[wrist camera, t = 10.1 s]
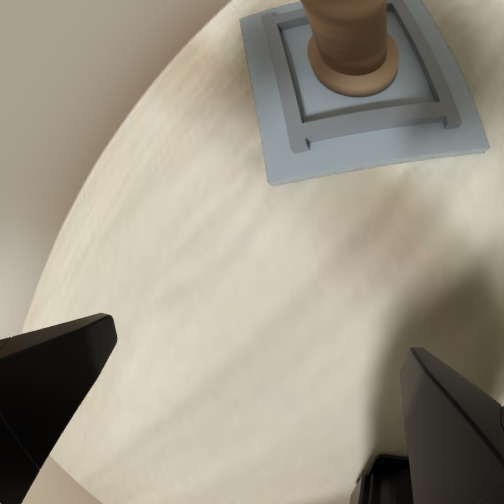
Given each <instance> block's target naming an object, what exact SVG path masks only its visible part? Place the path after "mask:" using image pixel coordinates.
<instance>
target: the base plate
mask: <svg viewBox="0 0 504 504" xmlns="http://www.w3.org/2000/svg"><path fill="white" fill-rule="evenodd" d="M386 16H387V33H389V34H390V36H391V37H392V38H393V39H394V41H395V43H396V45H397V48H398V52H399V61H398V72H397V76H396V78H395V80H394V82H393V83H392V84H391V85H390V86H389V87H388V88H387V89H386V90H384V91H383V92H381V93H379V94H376V95H373V96H369V97H360V98H356V97H348V96H343V95H340V94H337V93H335V92H333V91H331V90H329V89H328V88H326V87H325V86H324V85H323V84H321V83H320V81H319V80H318V79H317V77H316V76H315V74H314V72H313V69H312V67H311V64H310V61H309V58H308V54H307V46H308V42H309V40H310V38H311V36H312V35H313V32H312V29H311V27H310V24H309V21H308V18H307V16H306V13H305V10H304V8H303V5H302V3H301V1H300V2H296V3H292V4H288V5H284V6H280V7H277V8H273V9H270V10H266V11H263V12H260V13H257V14H253V15H250V16H247V17H244V18H241V19H240V25H241V30H242V35H243V40H244V45H245V51H246V56H247V62H248V67H249V73H250V78H251V84H252V89H253V95H254V101H255V107H256V112H257V118H258V124H259V130H260V136H261V142H262V148H263V154H264V161H265V167H266V173H267V180H268V183H269V184H271V185H272V186H277V185H282V184H287V183H292V182H297V181H301V180H307V179H312V178H317V177H322V176H327V175H333V174H338V173H344V172H350V171H355V170H361V169H367V168H373V167H379V166H386V165H392V164H399V163H406V162H413V161H420V160H427V159H435V158H443V157H452V156H460V155H470V154H479V153H485V152H486V151H487V150H488V149H489V148H490V146H489V143H488V140H487V137H486V134H485V131H484V128H483V125H482V122H481V119H480V116H479V114H478V111H477V108H476V106H475V103H474V101H473V98H472V96H471V93H470V91H469V89H468V86H467V84H466V82H465V79H464V77H463V75H462V73H461V71H460V69H459V67H458V64H457V62H456V60H455V58H454V56H453V54H452V53H451V51H450V49H449V47H448V45H447V43H446V41H445V39H444V38H443V36H442V34H441V32H440V31H439V29H438V27H437V26H436V24H435V22H434V21H433V19H432V17H431V16H430V14H429V13H428V11H427V9H426V8H425V6H424V5H423V3H422V2H421V0H386Z"/></svg>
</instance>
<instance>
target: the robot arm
mask: <svg viewBox="0 0 504 504" xmlns="http://www.w3.org/2000/svg"><path fill="white" fill-rule="evenodd" d="M116 343H117V333H116V329H115V324H114V320H113V317H112V316H111V315H109V314H104V313H98V314H95V315H91V316H88V317H84V318H80V319H77V320H73V321H69V322H66V323H62V324H58V325H54V326H51V327H47V328H43V329H39V330H36V331H32V332H28V333H24V334H21V335H17V336H13V337H12V338H11V337H9V338H5V339H1V340H0V503H1V504H21V503H22V501H23V500H24V498H25V496H26V494H27V492H28V490H29V489H30V487H31V485H32V483H33V482H34V480H35V478H36V476H37V475H38V473H39V471H40V469H41V467H42V466H43V464H44V462H45V461H46V459H47V457H48V456H49V454H50V452H51V451H52V449H53V447H54V446H55V444H56V442H57V441H58V439H59V437H60V436H61V434H62V433H63V431H64V429H65V428H66V426H67V425H68V423H69V421H70V420H71V418H72V417H73V415H74V414H75V412H76V411H77V409H78V407H79V406H80V404H81V403H82V401H83V400H84V398H85V397H86V395H87V394H88V392H89V391H90V389H91V388H92V386H93V385H94V383H95V382H96V380H97V378H98V377H99V375H100V373H101V371H102V369H103V367H104V366H105V364H106V362H107V360H108V358H109V356H110V354H111V353H112V351H113V349H114V347H115V345H116ZM400 382H401V394H402V408H403V423H404V430H405V436H406V442H407V449H408V456H409V457H400V456H392V455H385V454H381V455H378V456H377V457H376V458H375V460H374V462H373V464H372V466H371V467H370V469H369V471H368V473H367V474H364V475H363V476H361V478H360V480H359V482H358V484H357V486H356V487H355V489H354V491H353V493H352V495H351V500H350V504H504V406H502V407H501V404H500V403H498V402H497V401H496V400H494V399H493V398H491V397H490V396H489V395H487V394H486V393H485V392H483V391H482V390H481V389H479V388H478V387H477V386H475V385H474V384H472V383H471V382H470V381H468V380H467V379H466V378H464V377H463V376H461V375H460V374H459V373H457V372H456V371H455V370H453V369H452V368H450V367H449V366H448V365H446V364H445V363H443V362H442V361H441V360H439V359H438V358H436V357H435V356H434V355H432V354H431V353H429V352H428V351H427V350H425V349H424V348H421V347H412V348H409V349H408V351H407V354H406V357H405V360H404V363H403V366H402V369H401V374H400ZM379 460H384V461H379Z"/></svg>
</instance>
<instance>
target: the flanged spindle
mask: <svg viewBox="0 0 504 504" xmlns="http://www.w3.org/2000/svg"><path fill="white" fill-rule="evenodd" d="M301 3H302V5H303V8H304V10H305V13H306V16H307V18H308V21H309V24H310V27H311V29H312V32H313V35H312V36H311V38H310V40H309V42H308V46H307V54H308V58H309V61H310V64H311V67H312V69H313V72H314V74H315V76H316V77H317V79H318V80H319V81H320V83H321V84H323V85H324V86H325V87H326V88H328V89H329V90H331V91H333V92H335V93H337V94H340V95H343V96H348V97H356V98H360V97H369V96H373V95H376V94H379V93H381V92H383V91H384V90H386V89H387V88H388V87H389V86H390V85H391V84H392V83H393V82H394V80H395V78H396V76H397V72H398V61H399V52H398V48H397V45H396V43H395V41H394V39H393V38H392V37H391V36H390V34H389V33H387V16H386V0H301Z"/></svg>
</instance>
